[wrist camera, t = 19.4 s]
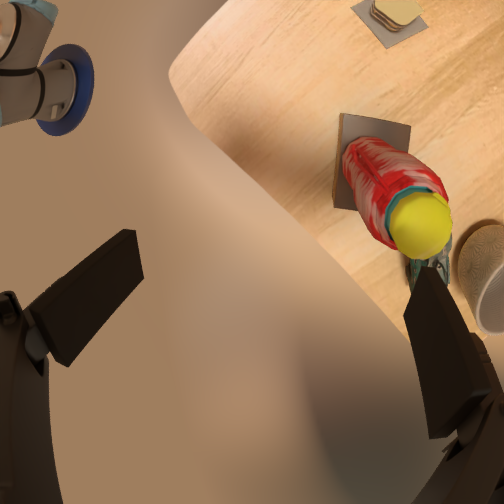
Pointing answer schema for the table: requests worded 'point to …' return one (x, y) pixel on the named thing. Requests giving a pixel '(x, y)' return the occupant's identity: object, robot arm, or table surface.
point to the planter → (484, 277)
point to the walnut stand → (353, 130)
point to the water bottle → (398, 197)
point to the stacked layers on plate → (391, 19)
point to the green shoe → (431, 265)
